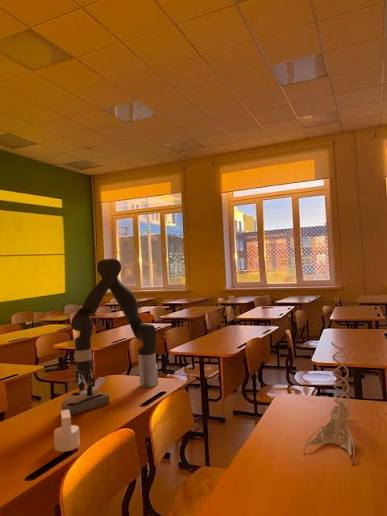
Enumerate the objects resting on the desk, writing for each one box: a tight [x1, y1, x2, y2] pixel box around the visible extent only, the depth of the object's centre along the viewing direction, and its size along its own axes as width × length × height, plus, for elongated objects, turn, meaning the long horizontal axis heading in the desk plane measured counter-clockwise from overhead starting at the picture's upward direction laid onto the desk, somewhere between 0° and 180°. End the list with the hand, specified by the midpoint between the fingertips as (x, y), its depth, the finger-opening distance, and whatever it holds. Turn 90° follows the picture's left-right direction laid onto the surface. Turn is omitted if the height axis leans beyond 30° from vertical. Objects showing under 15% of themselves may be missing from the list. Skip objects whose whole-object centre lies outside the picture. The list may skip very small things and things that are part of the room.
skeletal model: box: [302, 400, 356, 466], centre depth 142 cm, size 16×9×25 cm
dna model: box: [331, 341, 351, 412], centre depth 168 cm, size 7×6×30 cm
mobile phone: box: [61, 376, 108, 405], centre depth 192 cm, size 6×6×25 cm
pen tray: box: [61, 392, 110, 417], centre depth 192 cm, size 21×6×4 cm, turn 134°
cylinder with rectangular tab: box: [53, 409, 81, 453], centre depth 153 cm, size 9×9×12 cm
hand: (85, 394), depth 192 cm, fingers closed on mobile phone, 6 cm apart
